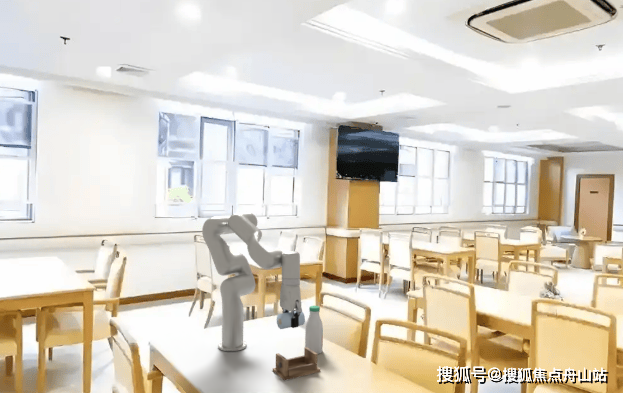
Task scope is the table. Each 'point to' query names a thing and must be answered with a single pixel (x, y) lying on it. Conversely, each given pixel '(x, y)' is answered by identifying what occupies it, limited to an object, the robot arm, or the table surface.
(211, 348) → the table surface
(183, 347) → the table surface
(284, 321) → the cylinder
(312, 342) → the milk bottle
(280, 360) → the holder
